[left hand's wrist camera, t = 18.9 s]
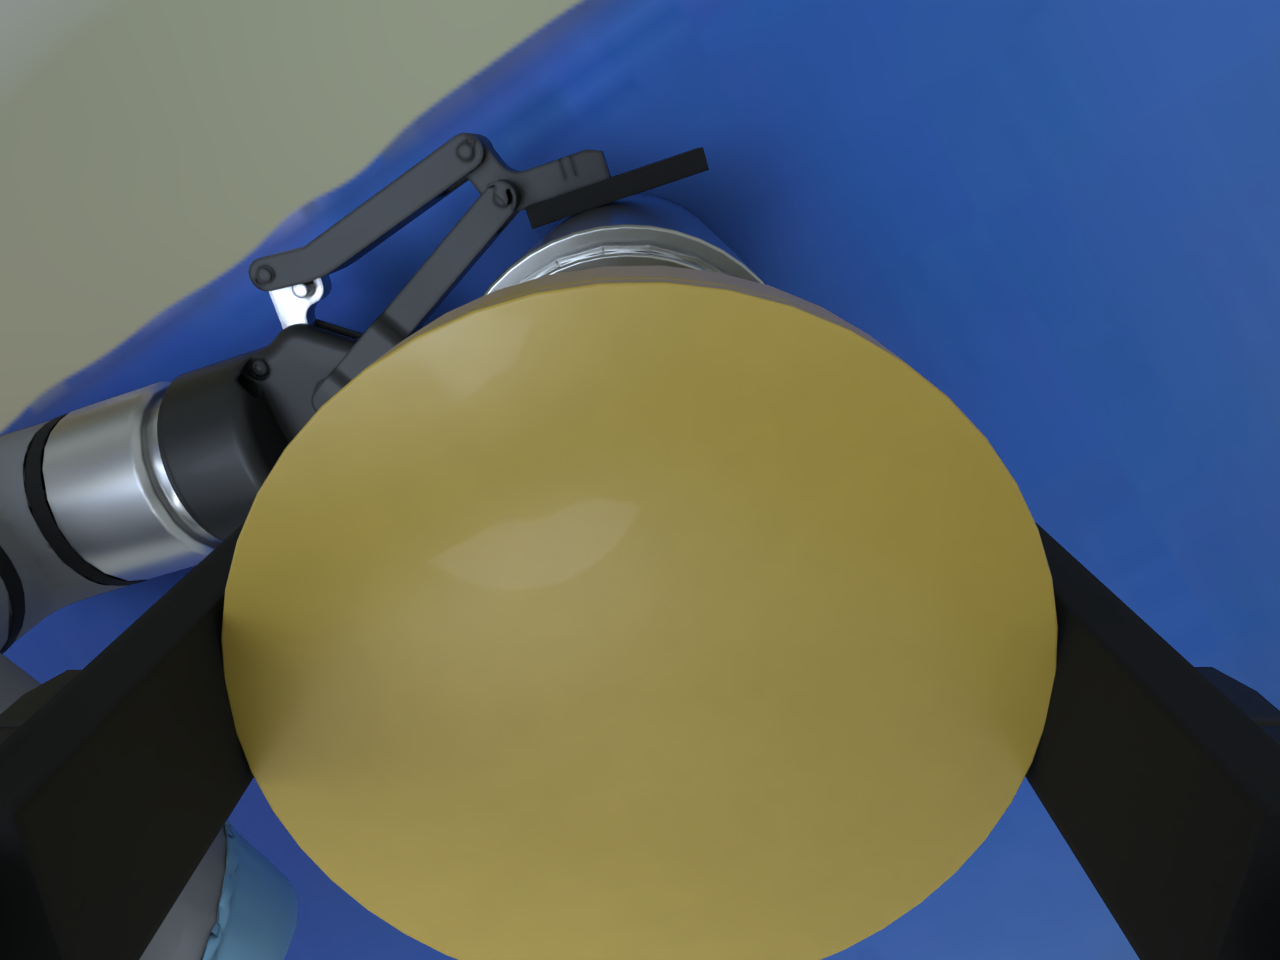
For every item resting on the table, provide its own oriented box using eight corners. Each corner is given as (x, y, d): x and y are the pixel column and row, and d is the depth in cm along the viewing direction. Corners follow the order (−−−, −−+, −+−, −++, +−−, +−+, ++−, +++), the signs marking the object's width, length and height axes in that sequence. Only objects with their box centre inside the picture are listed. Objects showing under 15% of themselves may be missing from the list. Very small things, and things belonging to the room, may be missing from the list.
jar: (669, 149, 36) (702, 143, 18) (772, 339, 39) (886, 490, 21) (485, 267, 38) (355, 364, 20) (597, 440, 41) (571, 656, 23)
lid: (224, 820, 13) (172, 903, 12) (349, 144, 10) (297, 141, 8) (835, 967, 14) (857, 1059, 13) (1147, 412, 11) (1226, 449, 9)
